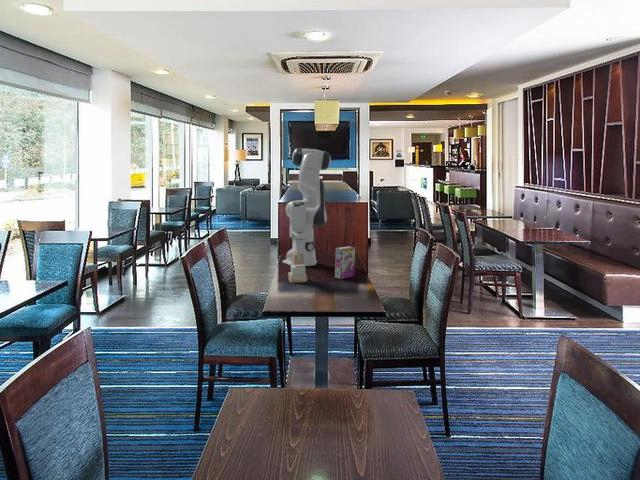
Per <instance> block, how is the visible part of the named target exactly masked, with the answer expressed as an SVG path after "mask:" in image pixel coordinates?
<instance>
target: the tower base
mask: <svg viewBox="0 0 640 480" xmlns="http://www.w3.org/2000/svg"><path fill="white" fill-rule="evenodd" d="M288 281H289V282H290V283H307V281H308V277H307V273H306V272H305V275H292V274H291V271H290V272H289V271H288Z"/></svg>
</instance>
